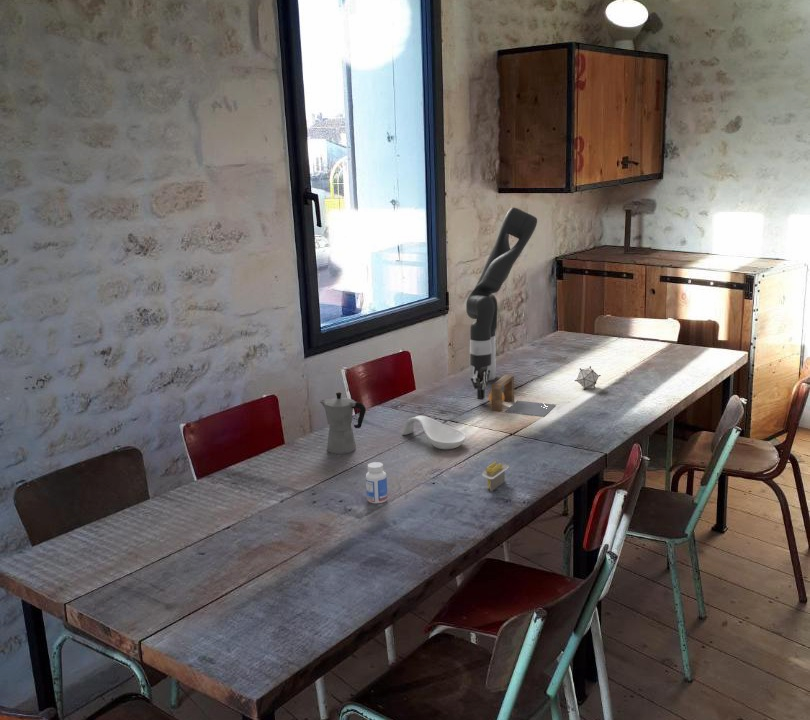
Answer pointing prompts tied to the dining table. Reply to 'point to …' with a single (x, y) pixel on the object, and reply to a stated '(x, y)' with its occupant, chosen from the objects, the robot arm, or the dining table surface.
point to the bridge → (497, 392)
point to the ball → (491, 397)
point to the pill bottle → (376, 483)
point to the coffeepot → (341, 423)
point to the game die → (587, 378)
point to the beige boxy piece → (495, 475)
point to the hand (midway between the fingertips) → (481, 399)
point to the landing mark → (530, 408)
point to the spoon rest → (436, 432)
